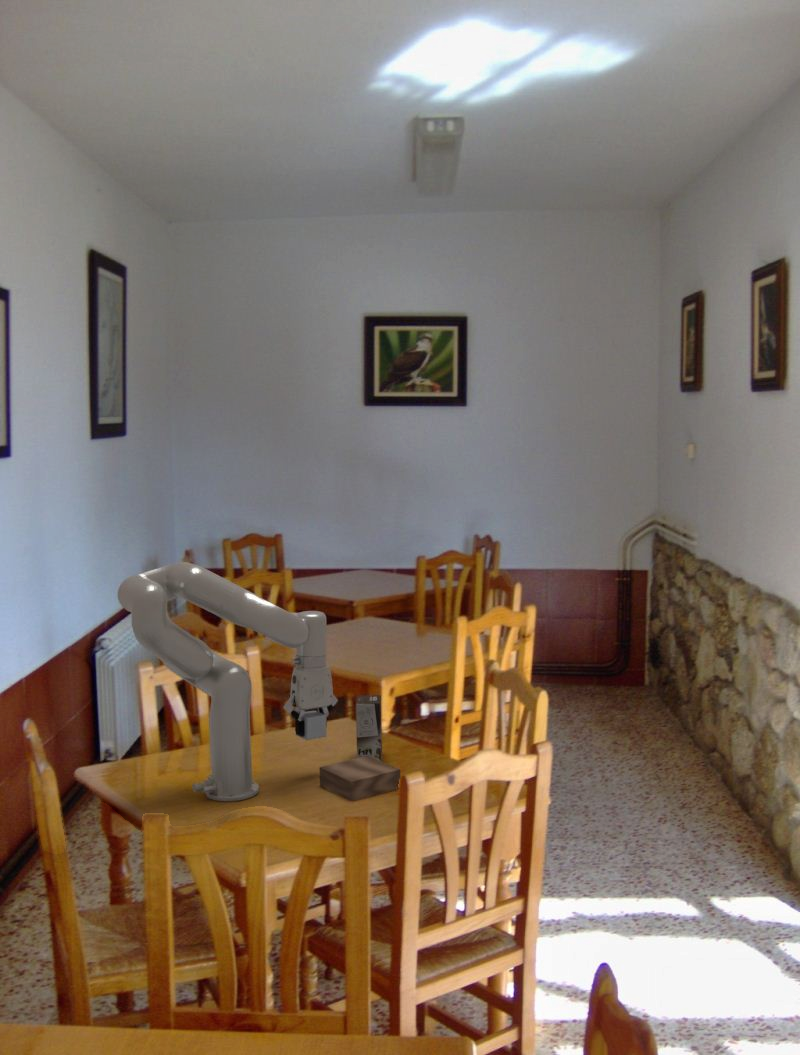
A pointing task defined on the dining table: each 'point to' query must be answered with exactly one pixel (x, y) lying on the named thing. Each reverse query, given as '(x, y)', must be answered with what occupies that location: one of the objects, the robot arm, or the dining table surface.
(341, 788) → the walnut block
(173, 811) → the dining table surface
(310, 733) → the grey blue cube
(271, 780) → the dining table surface
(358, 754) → the coffee box
